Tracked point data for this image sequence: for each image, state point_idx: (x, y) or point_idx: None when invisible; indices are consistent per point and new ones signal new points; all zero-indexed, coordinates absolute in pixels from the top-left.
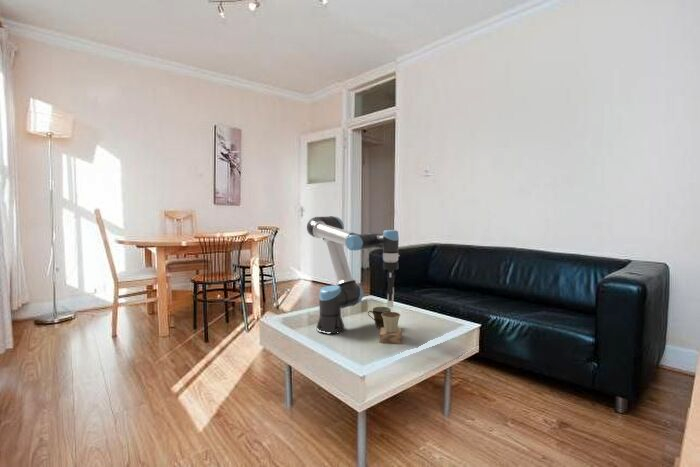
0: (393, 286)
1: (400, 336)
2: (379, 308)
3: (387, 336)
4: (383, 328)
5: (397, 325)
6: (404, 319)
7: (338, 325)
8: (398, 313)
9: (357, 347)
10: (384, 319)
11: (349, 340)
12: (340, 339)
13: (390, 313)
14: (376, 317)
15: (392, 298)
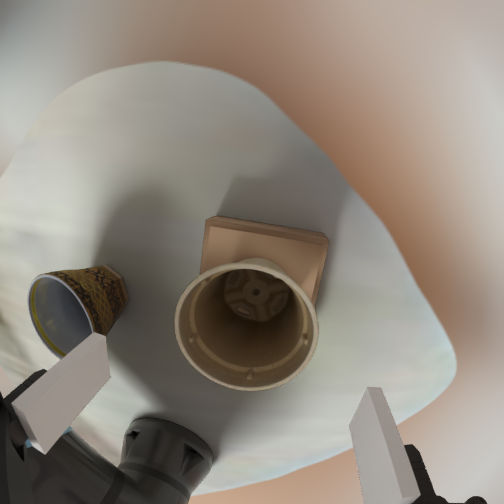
0: (4, 411)
1: (327, 247)
2: (38, 319)
3: None
4: None
5: (270, 265)
6: (33, 182)
7: (185, 453)
8: (217, 272)
9: (340, 401)
10: (275, 362)
11: (269, 420)
12: (257, 439)
13: (183, 320)
14: None
15: (401, 456)
